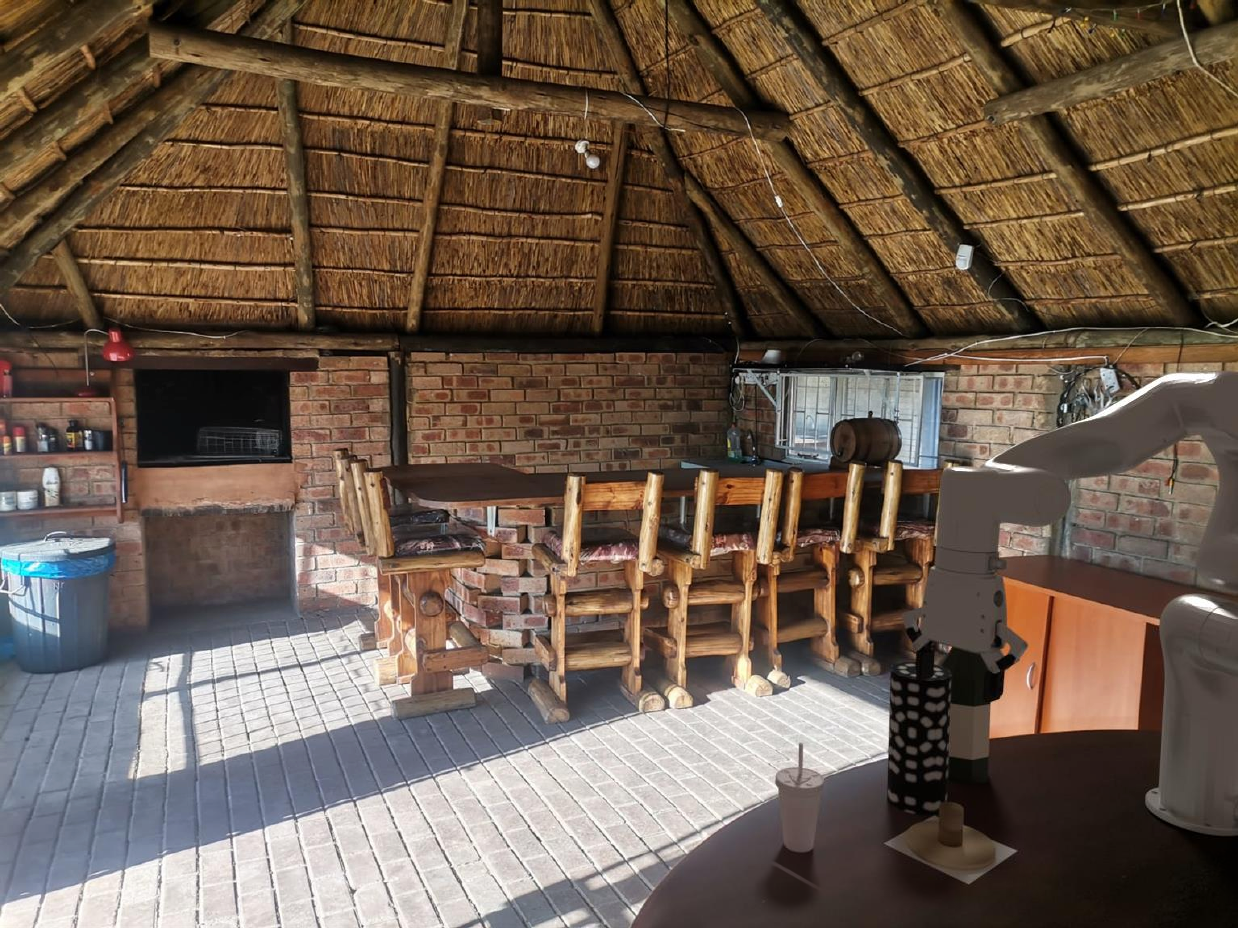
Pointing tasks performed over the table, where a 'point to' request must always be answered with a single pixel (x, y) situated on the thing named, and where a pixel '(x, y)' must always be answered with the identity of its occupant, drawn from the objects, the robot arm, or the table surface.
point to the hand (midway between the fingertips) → (957, 689)
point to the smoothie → (799, 804)
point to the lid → (950, 841)
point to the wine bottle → (968, 717)
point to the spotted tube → (918, 739)
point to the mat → (961, 875)
